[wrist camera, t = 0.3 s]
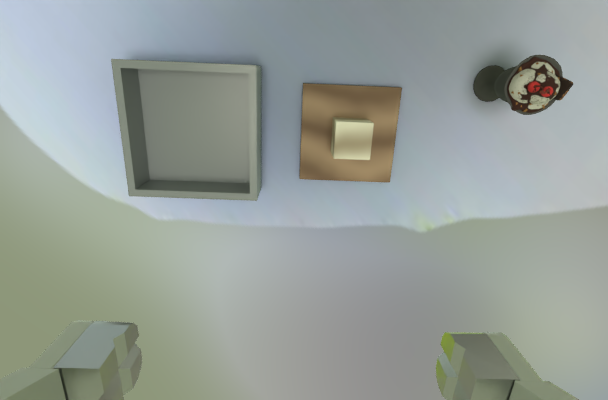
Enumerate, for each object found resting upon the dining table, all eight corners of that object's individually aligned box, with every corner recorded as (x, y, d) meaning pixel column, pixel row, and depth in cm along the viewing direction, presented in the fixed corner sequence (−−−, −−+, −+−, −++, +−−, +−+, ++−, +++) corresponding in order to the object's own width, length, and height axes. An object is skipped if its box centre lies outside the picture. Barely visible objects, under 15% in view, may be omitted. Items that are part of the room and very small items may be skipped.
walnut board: (303, 83, 51) (303, 83, 50) (400, 87, 51) (401, 87, 50) (299, 177, 55) (299, 178, 54) (388, 180, 56) (389, 182, 55)
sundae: (457, 86, 51) (517, 91, 37) (494, 48, 49) (571, 37, 35) (486, 117, 52) (555, 132, 38) (523, 81, 51) (608, 83, 37)
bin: (132, 60, 49) (111, 58, 44) (261, 66, 50) (256, 65, 44) (146, 183, 55) (129, 196, 50) (261, 187, 56) (256, 200, 50)
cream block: (332, 117, 51) (336, 121, 46) (367, 118, 51) (373, 123, 47) (330, 151, 53) (333, 158, 48) (363, 152, 53) (369, 160, 48)
